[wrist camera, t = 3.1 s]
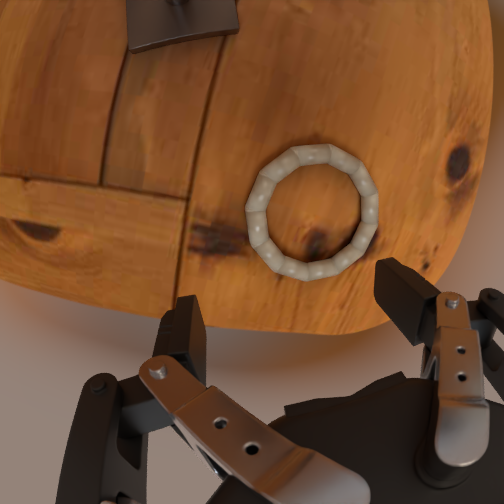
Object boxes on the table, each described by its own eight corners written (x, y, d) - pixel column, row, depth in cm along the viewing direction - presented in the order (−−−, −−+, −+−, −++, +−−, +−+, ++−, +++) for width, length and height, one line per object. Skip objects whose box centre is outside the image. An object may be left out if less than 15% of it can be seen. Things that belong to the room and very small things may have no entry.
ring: (255, 285, 24) (258, 294, 23) (235, 153, 20) (237, 154, 19) (371, 261, 25) (379, 268, 24) (369, 140, 21) (379, 141, 19)
